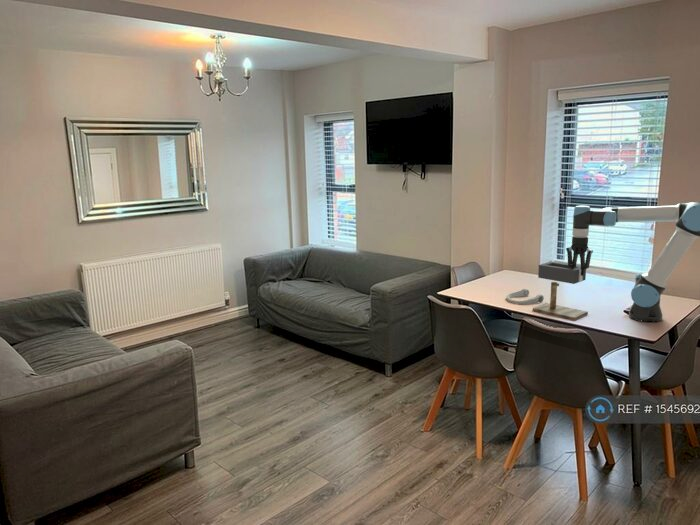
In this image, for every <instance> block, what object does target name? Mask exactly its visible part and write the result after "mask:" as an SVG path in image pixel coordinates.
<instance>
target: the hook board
mask: <svg viewBox="0 0 700 525" xmlns="http://www.w3.org/2000/svg"><path fill="white" fill-rule="evenodd" d="M558 287H560V282H559V283H558V281H551V282H550V299H549V300H550V301H549V302H545V303H542V304H539V305H537V306H535V307H532V309H531V310H532V311H533V312H536V313H540V312H541V314H545V315H549V316H553V317H557V316H558V318H563V319H567V320H571V321H577V320H580V319H581V318H583V317H585V315H586V316H588V315H589V311H586V310H582V309H576V308H573V307H568V306H567V307H566V306H564V305H558V304H557V294H558V293H557V292H558V291H557V290H558ZM587 314H588V315H587ZM582 316H583V317H582ZM580 317H581V318H580ZM576 319H577V320H576Z"/></svg>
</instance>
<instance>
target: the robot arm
mask: <svg viewBox="0 0 700 525" xmlns="http://www.w3.org/2000/svg"><path fill="white" fill-rule="evenodd" d="M572 216H573V218H572V236H571V245H570V247H566V248H565V249H566V253H567V264H568V266H569V267H571V268H572V269H574V268H575V267H576V265H577V263H578V258H579V261H580V266H581V269H580V270H579V282H578V283H581V282H583V281H584V280H583V276H584V274H585V269H586V270H587V269H589V268H590V264H591V259H592V258H591V257H592V255H593V253H594V250H593V249H590V248H589V232H590V226H600V227H615V226H616V224H617V223H645V222H646V223H651V222H654V223H655V222H656V223H657V222H659V223H660V222H661V223H662V222H663V223H664V222H667V223H668V222H676V223H675V225H674V226H675V231H674V232H673V234H672V236H671V237H670V239H669V240H668V242H667V243H666V244H665V246H664V247H663V249H662V251H661V252H660V254H659V256H658V257H657V258H656V260H655V261H654V263H653V264H652V265H651V267H650V269H649V270H648V271H647V273H637V274H636V275H635V278H634V279H635V283H634V286H633V288H632V289H631V291H630V292H631V293H630V297H631V300H632V301H633V302H632V304H631V307H630V309H629V312H628V317H629V316H630V317H631V318H630V317H629V318H630V319H632V318H634V319H637V320H636V321H638V320H642V321H641V322H643V321H652V322H651V323H656V322H655V321H659V322H662V321H663V311H662V308H661V295H662V294H663V292H664V291H665V290H666V288H667V287H668V286H667V281H668V279H669V277H670V276H671V275H672V273H673V272H674V270H675V269H676V268H677V266H678V265H679V263H680V262H681V260H682V259H683V257H684V256H685V255H686V253H687V251H688V250H689V249H690V247H691V246H692V245H693V243H694V242H695V240H696V239H699V238H700V201H693V202H685V203H684V202H682V203H678V204H676V205H660V206H659V205H657V206H655V205H654V206H629V207H627V206H626V207H625V206H624V207H607V206H605V207H603V208H602V209H601V210H592V209H591V207H590V206H589V205H576V206H575V207H574V209H573V215H572ZM578 256H579V257H578ZM585 256H586V257H585ZM582 280H583V281H582ZM634 319H633V320H634ZM661 320H662V321H661Z"/></svg>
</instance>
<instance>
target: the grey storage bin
mask: <svg viewBox="0 0 700 525" xmlns="http://www.w3.org/2000/svg"><path fill="white" fill-rule="evenodd" d="M580 269H581V265H577V264H576V267H575V268H574V269H572V268H571V267H569V266H568V263H565V262H564V263H563V262H556V261H547V262H545V263H541V264H538V274H537V275H538V276H537V277H538V279H545V280H548V281H553V282H559V283H560V282H562V283H565V284H572V285H575V284H577V283H580V282H579V270H580ZM586 274H587V269H585V274H584V276H583V280H582V281H581V282H583V281H586V276H587V275H586Z"/></svg>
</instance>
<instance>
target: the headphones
mask: <svg viewBox="0 0 700 525" xmlns="http://www.w3.org/2000/svg"><path fill="white" fill-rule="evenodd" d="M529 295H530V290H529V289H527V288H522V289H521V290H518V291H515V292H511V293H509V294H508V295H507V296H506V301H507V302H509V301H510V302H509V303H511V302H512V303H513V304H515V303H517V305H532V303H534V304H539V303H538V302H540V303H543V301H544V295H543V294H537V295H536V296H535V297H532V298H529V299H526V300H514V299H513V297H514V298H522V297H521V296H524V297H528V296H529ZM509 298H510V299H509Z"/></svg>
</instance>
